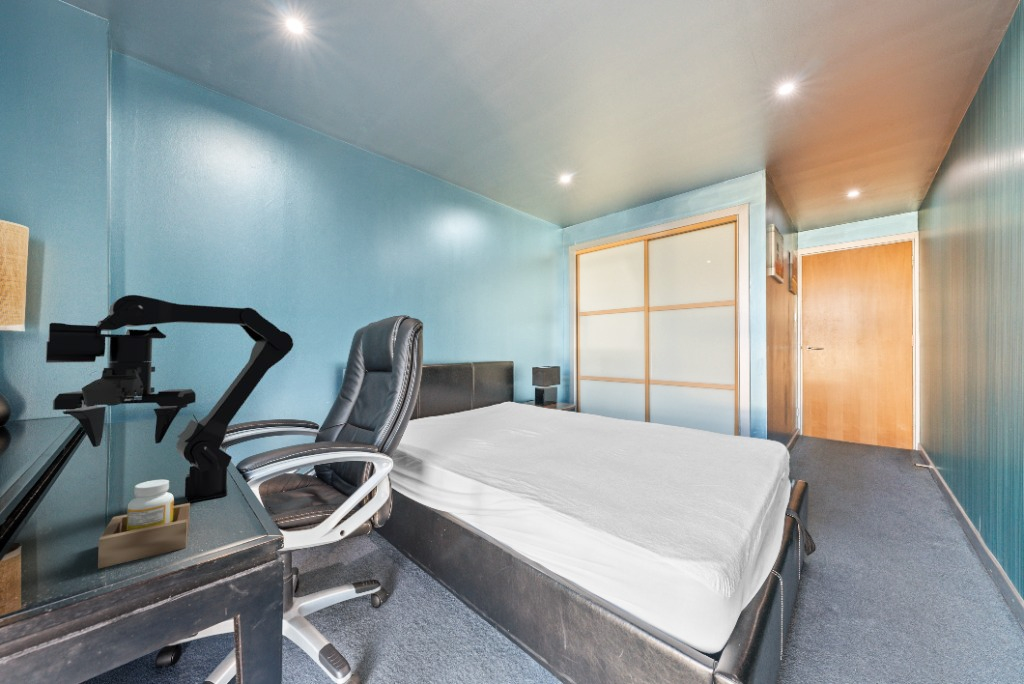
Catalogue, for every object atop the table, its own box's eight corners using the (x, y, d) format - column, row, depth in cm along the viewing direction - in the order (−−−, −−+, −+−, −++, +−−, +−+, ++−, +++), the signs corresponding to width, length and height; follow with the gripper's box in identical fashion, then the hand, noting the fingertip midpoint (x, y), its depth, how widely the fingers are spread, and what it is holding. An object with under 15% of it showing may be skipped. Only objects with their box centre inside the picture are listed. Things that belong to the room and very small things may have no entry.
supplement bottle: (150, 553, 57) (152, 489, 58) (115, 553, 57) (117, 489, 58) (181, 536, 63) (183, 478, 63) (149, 536, 63) (151, 477, 63)
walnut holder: (189, 525, 66) (190, 502, 67) (185, 547, 59) (186, 521, 59) (112, 542, 61) (113, 516, 61) (97, 568, 53) (98, 539, 53)
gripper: (25, 363, 61) (21, 460, 61) (167, 363, 67) (164, 451, 67) (79, 361, 72) (76, 444, 71) (197, 361, 78) (195, 438, 77)
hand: (127, 444), depth 71 cm, fingers open, 9 cm apart
